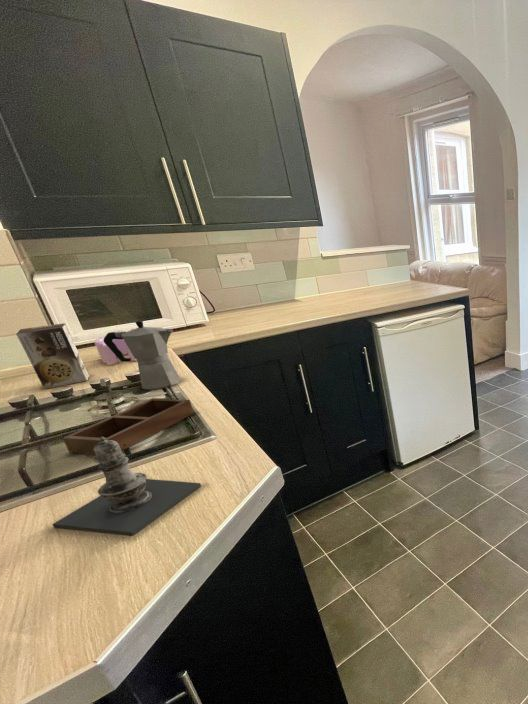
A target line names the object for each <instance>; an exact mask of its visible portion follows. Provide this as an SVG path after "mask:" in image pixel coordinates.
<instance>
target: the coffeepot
mask: <svg viewBox="0 0 528 704" xmlns="http://www.w3.org/2000/svg"><path fill="white" fill-rule="evenodd" d="M134 323H135V324H136V326H137V328H132V329H133V330H131V329H130V330H128V331H125V330H124V331H123V330H122V332H114V331H111V332H107V333H106V335H105V336H104V337H105V338H104V340H103V341H104V343H105V344H106V345H107V346H108V347H109V348H110V349H111V351H112V352H113V353H114V354H115V355H116V358H117V359H118V360H119V361H120V362H122V363H129V362H132V361H131V358H130V357H126V356H124V355H123V354H122V352H121V351H120V350H119V349H118V348H117V346H116V345H115V343H114V342H113V341H112V340H113V339H124V341H125V343H126V344H127V346H128V348H129V349H130V351H131V353H132V354H133V356H134V358H135V359H137V361H136V362H137V367H138V372H139V378H140V384H141V388H142V389H143V390H149V391H150V390H158V389H159V390H160V389H164V388H167V387H168V388H169V387H171V386H174V385H177V384H179V383H180V382H181V381H182V378H181V376H180V375H179V373H178V372H177V370H176V368H175V366H174V364H173V363H172V361H171V359H170V357H169V355H168V353H169V352H168V351H169V350H168V345H167V344H168V342H169V338H170V337H171V334H172V333H173V332H174V330H173V329H172V328H163V327H161V326H160V327H159V326H157V327H155V326H144V321H143V320H137V321H136V320H135V322H134Z"/></svg>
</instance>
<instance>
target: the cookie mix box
mask: <svg viewBox="0 0 528 704" xmlns="http://www.w3.org/2000/svg"><path fill="white" fill-rule="evenodd" d="M16 337H17V338H18V341H19V342H20V344H21V347H22V348H23V350H24V353H25V354H26V356H27V358H28V361H29V362H30V364H31V366H32V368H33V370H34V373H35V374H36V376H37V378H38V380H39V382H40V384H41V386H42V388H43V390H47V389H51V388H56V387H57V388H58V387H62V386H66V385H67V386H68V385H71V384H76V383H83V382H87V381H88V379H89V377H90V375H89V371H88V370H87V368H86V366H85V364H84V362H83V360H82V358H81V354H80V353H79V351H78V349H77V346H76V343H75V342H74V340H73V337H72V335H71V333H70V330H69V329H68V326H67V325H66V323H65V322H64V323H55V324H48V325H41V326H33V327H26V328H21V329H19V330H18V331H17V332H16Z"/></svg>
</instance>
